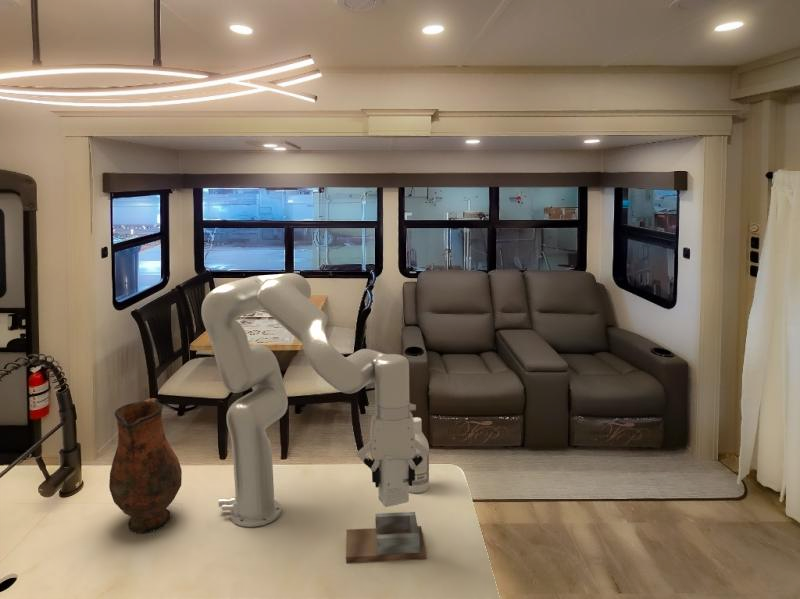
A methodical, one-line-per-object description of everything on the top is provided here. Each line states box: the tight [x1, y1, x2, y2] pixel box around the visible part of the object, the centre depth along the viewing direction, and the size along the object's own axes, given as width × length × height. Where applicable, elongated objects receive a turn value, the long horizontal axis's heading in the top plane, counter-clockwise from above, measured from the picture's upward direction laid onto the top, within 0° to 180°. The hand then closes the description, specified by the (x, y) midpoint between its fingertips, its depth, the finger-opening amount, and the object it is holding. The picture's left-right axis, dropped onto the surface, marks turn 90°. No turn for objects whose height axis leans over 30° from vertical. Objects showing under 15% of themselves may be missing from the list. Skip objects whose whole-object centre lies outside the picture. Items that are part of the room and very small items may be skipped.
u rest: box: [345, 511, 427, 564], centre depth 148 cm, size 18×11×6 cm, turn 94°
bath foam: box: [409, 416, 430, 494], centre depth 174 cm, size 7×7×20 cm
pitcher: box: [108, 397, 183, 534], centre depth 159 cm, size 17×21×30 cm
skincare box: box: [377, 456, 410, 508], centre depth 145 cm, size 6×4×12 cm
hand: (393, 483), depth 146 cm, fingers closed on skincare box, 7 cm apart
